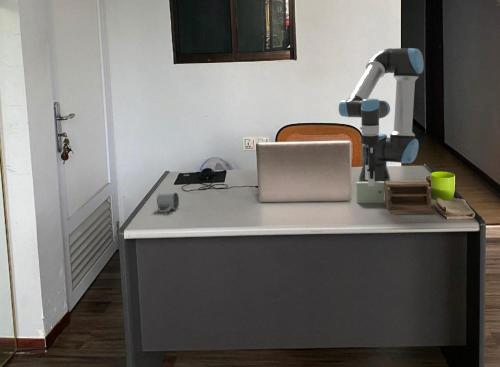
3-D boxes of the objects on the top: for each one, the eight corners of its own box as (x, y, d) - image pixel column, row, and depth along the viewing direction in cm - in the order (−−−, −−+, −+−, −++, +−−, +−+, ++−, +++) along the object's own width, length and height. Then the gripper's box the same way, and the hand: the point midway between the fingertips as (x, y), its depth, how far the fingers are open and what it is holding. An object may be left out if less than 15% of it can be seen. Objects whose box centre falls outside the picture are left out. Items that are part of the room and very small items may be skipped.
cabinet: (384, 203, 337) (384, 180, 334) (426, 202, 335) (426, 180, 333) (389, 214, 319) (389, 190, 316) (433, 213, 317) (434, 189, 315)
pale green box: (356, 201, 342) (356, 181, 340) (383, 200, 341) (383, 181, 339) (356, 203, 338) (356, 183, 336) (384, 202, 337) (384, 182, 335)
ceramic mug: (162, 206, 345) (161, 189, 343) (179, 207, 343) (178, 190, 341) (153, 213, 335) (152, 195, 333) (171, 213, 333) (170, 196, 331)
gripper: (359, 130, 346) (358, 177, 350) (363, 139, 321) (363, 188, 326) (375, 130, 345) (375, 176, 349) (382, 138, 321) (381, 188, 325)
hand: (369, 182), depth 338 cm, fingers open, 13 cm apart
